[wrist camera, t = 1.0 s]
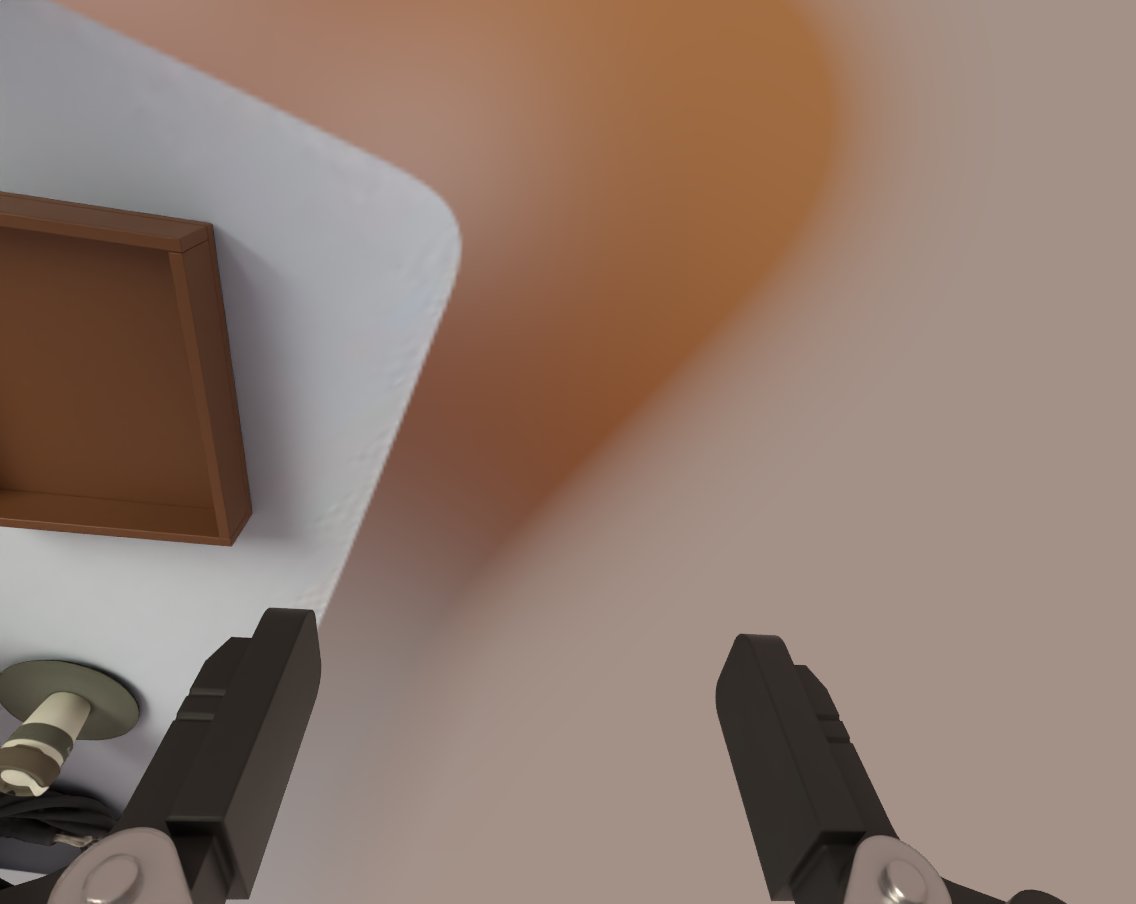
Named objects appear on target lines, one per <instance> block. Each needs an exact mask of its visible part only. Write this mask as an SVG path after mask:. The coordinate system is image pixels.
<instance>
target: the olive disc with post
mask: <svg viewBox="0 0 1136 904" xmlns="http://www.w3.org/2000/svg"><path fill="white" fill-rule="evenodd" d="M0 703H1V704H2V705H3V706H4V708H5V709H6V710H7V711H8V712H9V713H11V714H12V715H13V716H14V717H16V718H17V719H19V720H20V721H22V722H23V724H22V725H21V726H20V727H19V728H18V729H17V730H16V732H14V733H13V734H12V735H11V737H10V738H9V739H8V740H7V741H6V742H5V743H4V744H3V746H2V747H1V749H0V792H3V793H6V794H9V795H15V796H34V795H35V796H40V795H41V794H42V793H44V792H45V791H46V790H47V789H48V788H49V786H50V784H51V783H52V782H53V781H54V780H55V779H56V778H57V776H58V775H59V773H60V767H61V766H62V765H63V764H64V762H65V761H66V759H67V757H68V756H69V754H70V752H71V751H72V749H73V745H74V744H73V743H74V741H75V740H76V739H77V740H104V739H111V738H115V737H118V736H121V735H123V734H125V733H127V732H128V731H130V730H131V729H132V728H133V727H134V726H135V724H136V723H137V721H138V718H139V706H138V703H137V702H136V699H135V698H134V696H133V695H132V694H131V692H130V691H129V690H128V689H127V688H126V687H124V686H123V685H122V684H121V683H119V682H118V681H116V680H115V679H113V678H111V677H109V676H107V675H106V674H104V673H102V672H100V671H97V670H95V669H92V668H89V667H86V666H83V665H79V664H74V663H71V662H64V661H55V660H36V661H28V662H23V663H19V664H16V665H13V666H11V667H9V668H7V669H6V670H4V671H3V672H2V673H1V674H0Z"/></svg>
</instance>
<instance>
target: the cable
mask: <svg viewBox="0 0 1136 904" xmlns="http://www.w3.org/2000/svg"><path fill="white" fill-rule="evenodd" d="M117 822H118V821H116V820H115V819H113V817H112V814H111V812H110V810H109V809H108V807H106V806H105V805H104V804H103V803H101V802H100V801H97V800H95V799H91V798H87V797H80V796H67V795H64V794H61V793H59V792H57V791H55V790H53V789H51V788H48V789H47V790H46V791H45V792H44V793H42V794H41V795H40V796H35V795H34V796H15V795H9V794H6V793H3V792H0V836H3V837H5V838H14V839H18V840H21V841H24V842H30V843H35V844H41V845H46V846H52V845H54V844H55V843H56V842H57V841H60V842H64V843H68V844H70V845H73V846H76V847H80V849H81V853H83V852H84V851H85V850H87V849H88V848H89V847H91V846H92V845H93V844H95V843H97V842H98V841H100V840H102V839H103V838H104V837H105V836H106V835H107V834H108V833H109V832H110V831H111V830H112V828H113V827H114V826H115V824H116V823H117ZM12 886H14V885H12V884H10V883H9V882H7V881H5V880H3V879H1V878H0V890H2V889H5V888H9V887H12Z"/></svg>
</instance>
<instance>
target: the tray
mask: <svg viewBox="0 0 1136 904" xmlns="http://www.w3.org/2000/svg"><path fill="white" fill-rule="evenodd" d="M252 514H253V513H252V506H251V499H250V492H249V484H248V477H247V470H246V463H245V456H244V449H243V441H242V434H241V427H240V420H239V413H238V406H237V398H236V391H235V384H234V377H233V370H232V363H231V355H230V348H229V341H228V334H227V327H226V320H225V312H224V305H223V298H222V291H221V284H220V277H219V269H218V262H217V255H216V248H215V241H214V234H213V226H212V224H211V223H206V222H199V221H192V220H186V219H179V218H173V217H166V216H159V215H153V214H146V213H139V212H133V211H126V210H120V209H113V208H106V207H100V206H93V205H87V204H80V203H73V202H67V201H60V200H53V199H47V198H40V197H34V196H27V195H20V194H14V193H7V192H1V191H0V526H3V527H14V528H26V529H37V530H48V531H60V532H71V533H83V534H94V535H105V536H117V537H128V538H140V539H151V540H163V541H174V542H185V543H197V544H208V545H220V546H232V545H233V544H234V542H235V541H236V539H237V537H238V536H239V534H240V533H241V531H242V530H243V528H244V526H245V525H246V523H247V522H248V519H249V518H250V517H251V515H252Z"/></svg>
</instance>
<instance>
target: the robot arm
mask: <svg viewBox="0 0 1136 904" xmlns="http://www.w3.org/2000/svg"><path fill="white" fill-rule="evenodd" d="M320 677H321V658H320V649H319V641H318V633H317V625H316V617H315V613H314V611H313V610H307V609H288V608H268V609H267V610H266V611H265V613H264V614H263V616H262V618H261V620H260V622H259V624H258V626H257V628H256V630H255V632H254V634H253V636H252V638H241V637H231V638H230V639H229V640H228V641H226V642H225V643H224V644H223V645H222V646H221V647H220V648H219V649H218V650H217V651H216V652H215V653H214V654H213V655H211V656H210V657H209V658H208V659H207V660H206V661H205V663H204V664H203V666H202V668H201V670H200V672H199V674H198V676H197V677H196V679H195V681H194V683H193V685H192V687H191V688H190V693H189V695H188V696H186V698H185V700H184V701H183V703H182V705H181V707H180V709H179V711H178V712H177V717H176V720H175V721H173V722H172V724H171V725H170V727H169V729H168V731H167V733H166V735H165V737H164V738H163V740H162V742H161V744H160V746H159V748H158V749H157V751H156V753H155V755H154V757H153V759H152V761H151V762H150V764H149V766H148V768H147V770H146V772H145V773H144V775H143V777H142V779H141V781H140V783H139V785H138V786H137V788H136V790H135V792H134V794H133V796H132V797H131V799H130V801H129V803H128V805H127V807H126V809H125V810H124V812H123V814H122V815H121V817H120V819H119V820H118V822H117V823H116V824H115V826H114V827H113V828H112V830H111V831H110V832H109V833H108V834H107V835H106V836H105V837H104V838H103V839H102V840H100V841H98V842H97V843H95V844H93V845H92V846H91V847H89V848H88V849H87V850H85V851H84V852H83V853H81V854H80V855H79V856H78V857H77V858H76V859H75V860H74V861H73V862H72V863H71V864H70V865H68V866H66V867H64V868H62V869H60V870H58V871H56V872H54V873H52V874H49V875H46V876H44V877H41V878H38V879H35V880H32V881H28V882H25V883H22V884H19V885H15V886H12V887H9V888H5V889H2V890H0V904H225V902H226V899H249V897H250V894H251V891H252V888H253V885H254V882H255V879H256V876H257V873H258V870H259V867H260V864H261V861H262V858H263V855H264V852H265V849H266V846H267V843H268V840H269V837H270V834H271V831H272V829H273V826H274V823H275V820H276V817H277V813H278V810H279V808H280V805H281V802H282V799H283V796H284V793H285V790H286V787H287V784H288V781H289V778H290V775H291V772H292V769H293V766H294V763H295V760H296V757H297V754H298V751H299V748H300V745H301V742H302V739H303V736H304V733H305V730H306V727H307V724H308V721H309V718H310V715H311V712H312V709H313V706H314V703H315V700H316V697H317V693H318V688H319V684H320ZM716 709H717V714H718V718H719V721H720V725H721V728H722V731H723V735H724V739H725V742H726V745H727V749H728V752H729V756H730V759H731V763H732V766H733V770H734V773H735V776H736V780H737V783H738V787H739V790H740V793H741V797H742V801H743V804H744V807H745V811H746V815H747V818H748V822H749V825H750V828H751V832H752V835H753V839H754V842H755V845H756V849H757V853H758V856H759V860H760V863H761V866H762V870H763V873H764V877H765V880H766V884H767V887H768V890H769V894H770V898H771V901H794V902H795V904H1066V903H1065V902H1063V901H1061V900H1060V899H1058V898H1056V897H1054V896H1052V895H1050V894H1048V893H1045V892H1042V891H1037V890H1024V891H1021V892H1019V893H1017V894H1016V895H1015V896H1013V897H1012V898H1011V899H1010V900H1009V901H1008V902H1005V901H1002V900H999V899H996V898H994V897H991V896H988V895H986V894H983V893H980V892H977V891H975V890H972V889H969V888H966V887H964V886H961V885H958V884H956V883H953V882H951V881H949V880H946V879H944V878H942V877H941V876H940V875H939V874H938V872H937V871H936V870H935V868H934V867H933V866H932V865H931V864H930V862H928V860H927V859H926V858H925V857H924V856H922V855H921V854H920V853H919V852H918V851H917V850H915V849H914V848H912V847H911V846H910V845H908V844H906V843H904V842H903V841H901V840H900V839H899V837H898V836H897V834H896V833H895V831H894V829H893V827H892V825H891V823H890V821H889V819H888V817H887V815H886V813H885V810H884V808H883V806H882V804H881V802H880V800H879V798H878V796H877V794H876V792H875V789H874V787H873V785H872V783H871V781H870V779H869V777H868V775H867V773H866V770H865V768H864V766H863V764H862V762H861V760H860V758H859V756H858V754H857V752H856V750H855V747H854V745H853V744H852V743H850V737H849V735H848V733H847V730H846V728H845V726H844V724H843V722H842V721H840V720H839V714H838V712H837V710H836V707H835V705H834V703H833V701H832V699H831V697H830V695H829V693H828V690H827V689H826V688H825V686H824V685H823V684H822V683H821V682H820V681H819V680H818V679H817V677H816V676H815V675H814V674H813V673H812V672H811V671H810V670H809V669H808V667H807V666H806V665H794V664H793V661H792V659H791V657H790V655H789V653H788V650H787V648H786V645H785V643H784V642H783V640H782V639H781V638H780V637H779V636H775V635H755V634H739V635H738V636H737V637H736V639H735V641H734V644H733V646H732V648H731V650H730V653H729V655H728V658H727V661H726V662H725V665H724V667H723V669H722V672H721V674H720V677H719V679H718V682H717V686H716Z"/></svg>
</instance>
